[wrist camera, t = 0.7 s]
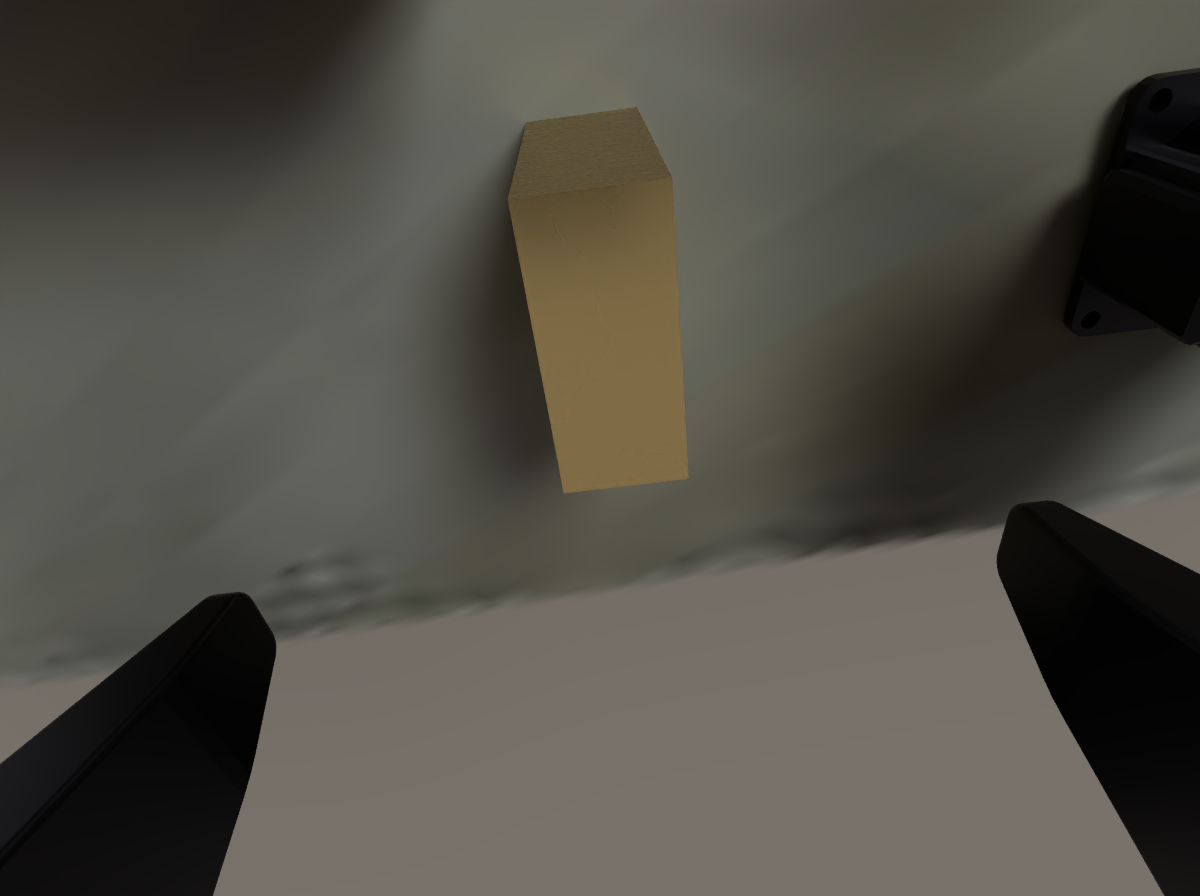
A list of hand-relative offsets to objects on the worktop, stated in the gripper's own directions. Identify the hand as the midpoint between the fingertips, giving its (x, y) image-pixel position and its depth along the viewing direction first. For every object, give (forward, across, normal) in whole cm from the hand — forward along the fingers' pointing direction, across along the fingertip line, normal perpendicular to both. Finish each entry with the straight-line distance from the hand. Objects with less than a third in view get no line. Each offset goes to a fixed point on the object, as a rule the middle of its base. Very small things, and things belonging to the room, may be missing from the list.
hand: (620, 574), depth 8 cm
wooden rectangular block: (+12, 0, 0) cm, 12 cm away
